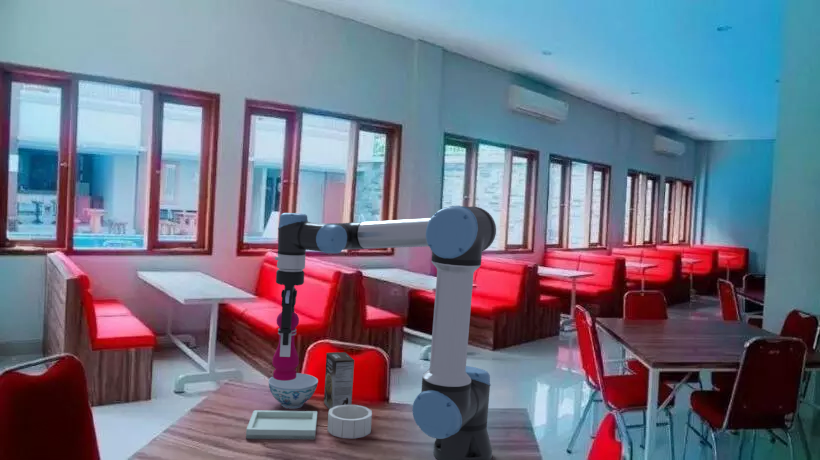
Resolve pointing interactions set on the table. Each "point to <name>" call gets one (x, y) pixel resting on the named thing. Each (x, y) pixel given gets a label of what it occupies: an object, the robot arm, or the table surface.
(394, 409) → the table surface
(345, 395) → the coffee box
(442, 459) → the robot arm
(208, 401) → the table surface
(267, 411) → the tray
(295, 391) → the chinaware
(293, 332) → the pepper mill
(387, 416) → the table surface
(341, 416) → the cup
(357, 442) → the table surface
